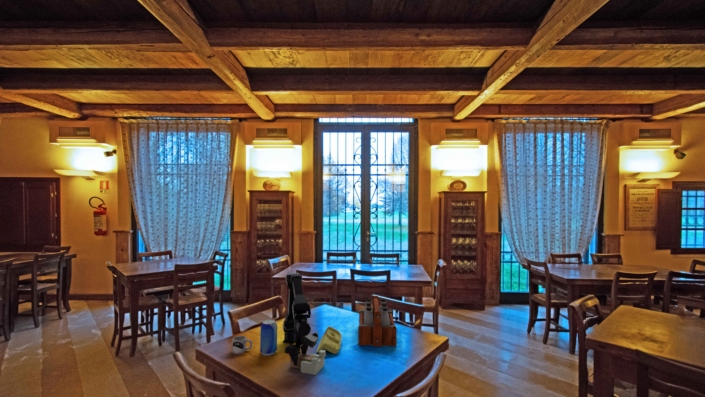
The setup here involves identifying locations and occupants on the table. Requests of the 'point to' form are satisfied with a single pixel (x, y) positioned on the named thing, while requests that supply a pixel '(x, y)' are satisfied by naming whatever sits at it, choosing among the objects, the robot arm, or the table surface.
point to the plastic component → (330, 341)
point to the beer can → (268, 337)
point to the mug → (240, 344)
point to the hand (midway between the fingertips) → (299, 361)
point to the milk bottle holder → (376, 325)
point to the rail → (301, 358)
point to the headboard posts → (314, 363)
